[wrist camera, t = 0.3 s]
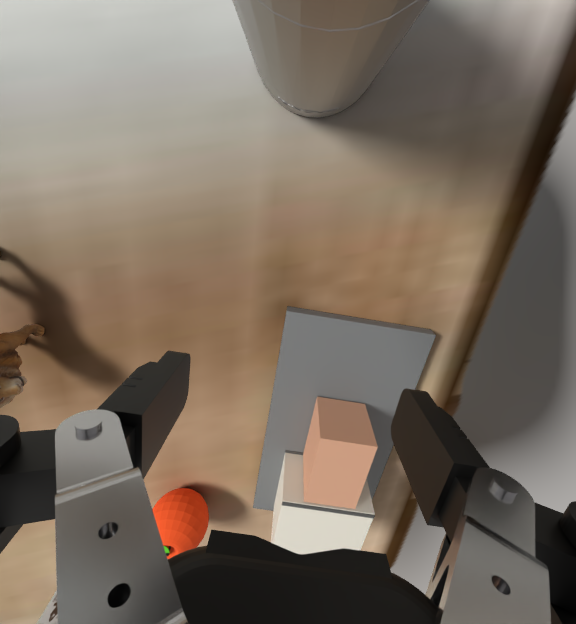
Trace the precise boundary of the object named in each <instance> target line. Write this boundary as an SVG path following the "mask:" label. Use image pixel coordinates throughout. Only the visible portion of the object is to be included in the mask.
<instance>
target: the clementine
mask: <svg viewBox="0 0 576 624" xmlns="http://www.w3.org/2000/svg"><path fill="white" fill-rule="evenodd" d="M152 510H153V514H154V517H155V520H156V523H157V527H158V530H159V533H160V537H161V540H162V543H163V546H164V550H165V553H166V556H167V559H170V558H172V557H173V556H175V555H177V554H180V553H182V552H184V551H187V550H190V549H194V548H196V547H197V546H198V545H199V543H200V542H201V541H202V539H203V538H204V535H205V533H206V530H207V527H208V521H209V514H208V506H207V504H206V502H205V500H204V498H203V497H202V496H201V495H200V494H199V493H197V492H196V491H194V490H192V489H188V488H179V489H175V490H172V491H170V492H168V493H167V494H165V495H164V496H163V497H162V498H161V499H160V500H159V501H158V502H157V503H156V505H155V506H154V508H153V509H152Z"/></svg>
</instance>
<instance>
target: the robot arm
mask: <svg viewBox="0 0 576 624" xmlns="http://www.w3.org/2000/svg"><path fill="white" fill-rule="evenodd" d="M232 1H233V3H234V6H235V9H236V12H237V14H238V17H239V20H240V23H241V25H242V28H243V31H244V34H245V36H246V39H247V42H248V45H249V48H250V51H251V53H252V56H253V59H254V62H255V64H256V67H257V70H258V72H259V74H260V77H261V79H262V81H263V83H264V85H265V87H266V88H267V89H268V91H269V92H270V94H271V95H272V97H273V98H274V99H275V100H277V101H278V102H279V103H280V104H281V105H282V106H283V107H285V108H286V109H288V110H290V111H291V112H293V113H295V114H298V115H302V116H305V117H316V118H320V117H326V116H331V115H334V114H336V113H338V112H341V111H343V110H345V109H346V108H348V107H349V106H350V105H352V104H353V103H354V102H356V101H357V100H358V99H359V98H360V96H361V95H362V94H363V93H364V92H365V91H366V90H367V88H368V87H369V86H370V84H371V83H372V81H373V80H374V78H375V77H376V76H377V74H378V73H379V72H380V70H381V69H382V67H383V66H384V65H385V63H386V62H387V60H388V59H389V57H390V56H391V55H392V53H393V52H394V50H395V49H396V47H397V46H398V45H399V43H400V42H401V40H402V39H403V37H404V36H405V35H406V33H407V32H408V30H409V29H410V27H411V26H412V25H413V23H414V22H415V20H416V19H417V17H418V16H419V15H420V13H421V12H422V10H423V9H424V7H425V6H426V5H427V3H428V2H429V0H232ZM189 373H190V354H187V353H181V352H174V351H167V352H166V353H165V355H164V356H163V357H162V358H161V359H160V360H159V361H158V362H157V363H156V362H149V363H147V364H145V365H143V366H141V367H138V368H137V369H136V370H135V371H134V372H133V373H132V374H131V375H130V376H129V378H127V379H126V380H125V381H124V382H123V383H122V385H120V386H119V387H118V388H117V389H116V390H115V391H114V392H113V393H112V394H111V395H110V396H109V397H108V399H107V400H106V401H105V402H104V403H103V404H102V405H101V406H100V407H99V408H98V409H97V410H88V411H84V412H80V413H78V414H75V415H73V416H71V417H69V418H67V419H66V420H65V421H63V422H62V423H61V424H60V425H59V426H58V428H57V429H53V430H41V431H29V432H20V429H19V423H18V421H17V420H16V419H15V418H13V417H11V416H7V415H0V553H1V552H2V551H3V549H4V548H5V547H6V546H7V544H8V543H9V542H10V541H11V539H12V538H13V537H14V535H15V534H16V533H17V532H18V530H19V529H20V528H21V527H22V525H23V524H27V523H33V522H39V521H45V520H51V519H55V528H56V570H57V612H58V624H576V502H571V503H570V504H569V506H568V507H567V509H566V511H565V512H564V514H563V513H560V512H558V511H555V510H553V509H550V508H547V507H545V506H542V505H540V504H537V503H534V500H533V498H532V496H531V495H530V494H529V493H528V491H527V490H526V489H525V488H524V487H523V486H522V485H521V484H520V483H518V482H517V481H516V480H515V479H513V478H512V477H510V476H508V475H507V474H505V473H503V472H500V471H498V470H496V469H492V468H490V467H489V466H488V465H487V463H486V462H485V461H484V460H483V458H482V457H481V455H480V454H479V453H478V451H477V450H476V448H475V447H474V446H473V444H472V443H471V442H470V440H469V439H467V436H466V435H465V434H464V432H463V431H462V430H460V427H459V426H458V425H457V423H456V422H455V420H454V419H453V418H452V417H451V416H450V415H449V414H448V413H446V412H445V411H444V410H443V409H442V408H440V407H437V405H436V404H435V402H434V401H433V399H432V398H431V397H430V395H429V394H428V393H427V392H426V391H420V390H413V389H407V388H406V389H404V390H403V391H402V393H401V396H400V399H399V402H398V405H397V408H396V411H395V414H394V417H393V420H392V424H391V438H392V441H393V443H394V446H395V448H396V451H397V453H398V455H399V458H400V460H401V463H402V465H403V468H404V470H405V472H406V475H407V477H408V480H409V482H410V485H411V487H412V489H413V492H414V494H415V497H416V499H417V502H418V504H419V506H420V509H421V511H422V514H423V516H424V519H425V521H426V523H427V525H432V526H438V527H444V529H445V531H446V535H445V537H444V539H443V541H442V544H441V547H440V551H439V554H438V557H437V560H436V563H435V566H434V570H433V573H432V576H431V579H430V582H429V586H428V589H427V592H426V595H425V594H423V593H422V592H421V591H420V590H419V589H417V588H416V587H414V586H413V585H412V584H410V583H409V582H408V581H406V580H404V579H403V578H401V577H399V576H397V575H395V574H393V573H391V571H390V567H389V564H388V560H387V556H386V554H381V553H374V552H367V551H360V550H353V549H345V548H342V549H336V550H329V551H323V552H316V553H309V554H297V553H294V552H292V551H289V550H287V549H285V548H282V547H280V546H278V545H275V544H273V543H271V542H268V541H266V540H264V539H261V538H259V537H257V536H253V535H246V534H239V533H232V532H224V531H217V530H211V534H210V537H209V541H208V545H207V546H202V547H197V548H194V549H190V550H187V551H184V552H182V553H180V554H177V555H175V556H173V557H172V558H170V559H167V556H166V553H165V550H164V546H163V543H162V540H161V537H160V533H159V530H158V527H157V523H156V520H155V517H154V514H153V510H152V507H151V504H150V500H149V497H148V494H147V491H146V487H145V484H144V481H143V479H144V477H145V476H146V474H147V472H148V470H149V469H150V467H151V465H152V463H153V461H154V460H155V458H156V456H157V454H158V452H159V451H160V449H161V447H162V445H163V444H164V442H165V440H166V438H167V436H168V435H169V433H170V431H171V429H172V427H173V426H174V424H175V422H176V420H177V419H178V417H179V415H180V413H181V411H182V410H183V408H184V406H185V403H186V400H187V396H188V388H189Z"/></svg>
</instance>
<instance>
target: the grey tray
mask: <svg viewBox="0 0 576 624" xmlns="http://www.w3.org/2000/svg"><path fill="white" fill-rule="evenodd" d="M435 337H436V335H435V333H434V332H433V331H432V330H431V329H425V328H419V327H412V326H406V325H400V324H394V323H388V322H382V321H376V320H369V319H363V318H357V317H351V316H345V315H339V314H332V313H326V312H320V311H314V310H308V309H302V308H295V307H289V306H287V312H286V317H285V323H284V329H283V335H282V341H281V347H280V352H279V358H278V364H277V370H276V376H275V382H274V387H273V393H272V399H271V405H270V411H269V417H268V422H267V428H266V434H265V440H264V446H263V452H262V457H261V463H260V469H259V475H258V481H257V486H256V492H255V498H254V505H253V508H257V509H264V510H271V511H273V523H272V536H271V543H273V544H275V545H278V546H280V547H282V548H285V549H287V550H289V551H292V552H294V553H297V554H309V553H316V552H323V551H329V550H336V549H342V548H345V549H353V550H361V547H362V545H363V542H364V540H365V537H366V535H367V532H368V530H369V527H370V525H371V522H372V520H373V519H374V517H375V512H374V508H373V504H372V499H373V496H374V494H375V491H376V488H377V486H378V483H379V481H380V478H381V476H382V473H383V470H384V468H385V465H386V463H387V460H388V458H389V455H390V452H391V450H392V447H393V445H394V443H393V441H392V438H391V424H392V420H393V417H394V414H395V411H396V408H397V405H398V402H399V399H400V396H401V393H402V391H403V390H404V389H406V388H407V389H413V390H415V388H416V385H417V383H418V380H419V378H420V375H421V373H422V370H423V367H424V365H425V362H426V360H427V357H428V355H429V352H430V349H431V347H432V344H433V342H434V339H435ZM317 397H323V398H330V399H336V400H343V401H349V402H356V403H362V404H365V405H366V409H367V412H368V416H369V419H370V422H371V426H372V429H373V432H374V436H375V439H376V442H377V446H378V448H377V451H376V453H375V456H374V459H373V462H372V464H371V467H370V470H369V473H368V475H367V478H366V481H365V484H364V486H363V489H362V492H361V495H360V497H359V500H358V503H357V506H356V508H355V509H351V508H344V507H337V506H331V505H324V504H317V503H310V502H304V484H303V453H304V448H305V444H306V440H307V436H308V432H309V428H310V424H311V419H312V415H313V411H314V407H315V403H316V399H317Z"/></svg>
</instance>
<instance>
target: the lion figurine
mask: <svg viewBox="0 0 576 624" xmlns="http://www.w3.org/2000/svg"><path fill="white" fill-rule="evenodd" d="M0 257H1V252H0ZM44 330H45V328H44V327H42V326H40V325H38V324H31V325H26V326H24V327H23V328H21V329H20V330H18V331H14V332H10V333H2V334H0V408H1V407H3V406H4V405H6V404H8V403H10V402H11V401H12V400H13V398H14V397H15V395H18V394H20V393H21V392H22V391H23V387H22V386H24V385H25V384H26V382H27V380H26V378H25V377H23V376H21V372H20V370H19V369H18V368H19V367H20V365H21V364H22V361H21V358H20V356H19V355H18V352H17V351H15V349H16V348H17V347H18V346H19V345H23V344H25V343H26V338H27V337H28V336H29V335H30V334H33V335H34V336H42V335H43V334H44Z"/></svg>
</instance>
